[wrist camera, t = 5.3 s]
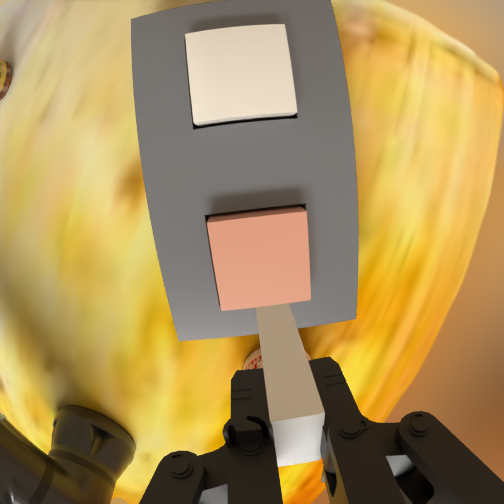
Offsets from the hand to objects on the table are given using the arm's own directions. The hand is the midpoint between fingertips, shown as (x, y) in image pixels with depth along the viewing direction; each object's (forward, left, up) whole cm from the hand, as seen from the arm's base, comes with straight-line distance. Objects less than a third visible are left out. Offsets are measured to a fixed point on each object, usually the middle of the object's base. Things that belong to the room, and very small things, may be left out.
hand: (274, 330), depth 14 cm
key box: (0, +7, -16) cm, 18 cm away
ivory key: (0, +14, -13) cm, 19 cm away
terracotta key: (0, 0, -13) cm, 13 cm away
